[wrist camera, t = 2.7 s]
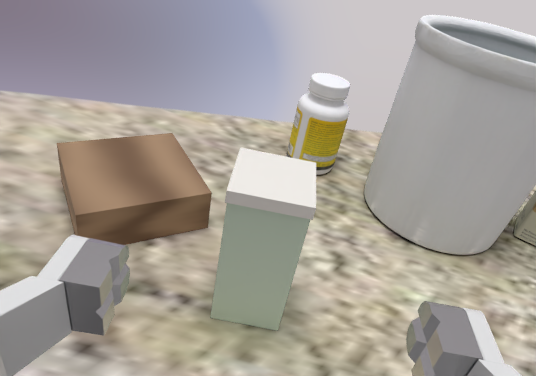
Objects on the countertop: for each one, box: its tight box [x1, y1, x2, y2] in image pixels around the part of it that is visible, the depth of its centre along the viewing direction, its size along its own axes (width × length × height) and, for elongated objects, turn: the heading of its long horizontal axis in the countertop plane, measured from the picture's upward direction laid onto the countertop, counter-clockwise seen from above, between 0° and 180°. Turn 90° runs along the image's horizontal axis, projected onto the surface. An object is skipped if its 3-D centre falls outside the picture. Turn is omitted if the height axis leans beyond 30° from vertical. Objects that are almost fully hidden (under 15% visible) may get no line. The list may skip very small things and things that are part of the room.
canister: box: [210, 148, 316, 331], centre depth 27 cm, size 5×5×11 cm
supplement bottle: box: [287, 73, 350, 175], centre depth 45 cm, size 5×5×10 cm
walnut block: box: [57, 133, 212, 245], centre depth 36 cm, size 10×10×4 cm
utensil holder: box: [364, 15, 536, 255], centre depth 39 cm, size 15×15×18 cm
